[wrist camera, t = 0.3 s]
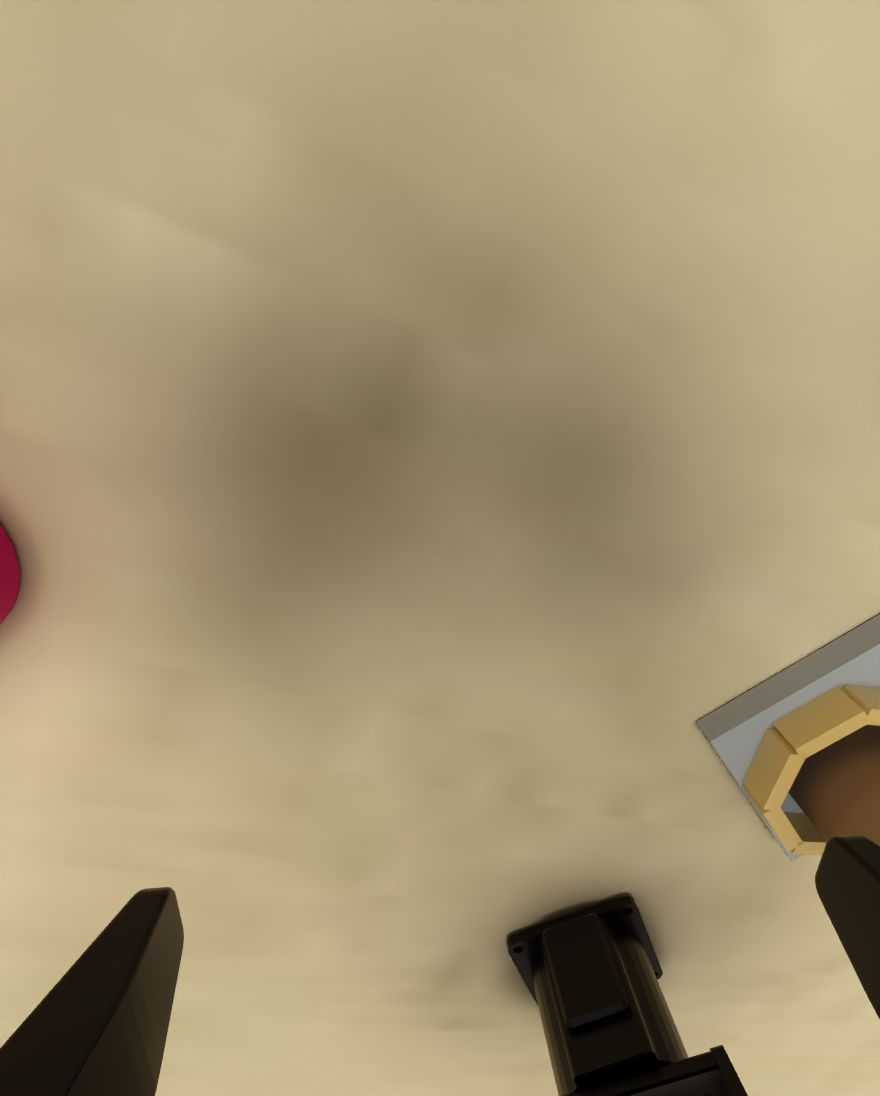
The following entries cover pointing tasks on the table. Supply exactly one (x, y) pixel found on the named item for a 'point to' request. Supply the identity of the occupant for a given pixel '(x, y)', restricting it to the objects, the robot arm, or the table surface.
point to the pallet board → (797, 728)
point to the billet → (843, 786)
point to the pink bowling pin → (7, 575)
